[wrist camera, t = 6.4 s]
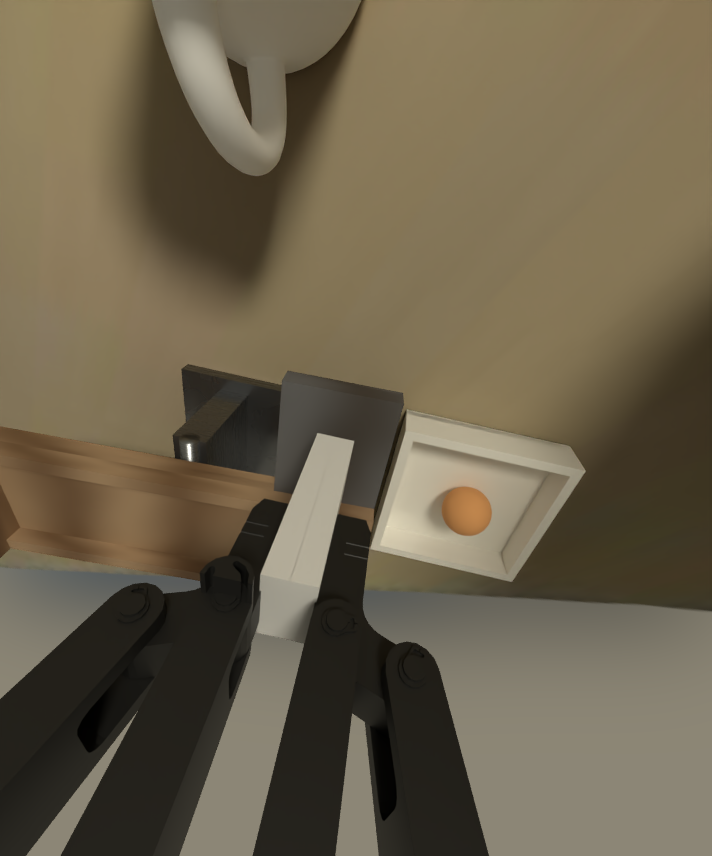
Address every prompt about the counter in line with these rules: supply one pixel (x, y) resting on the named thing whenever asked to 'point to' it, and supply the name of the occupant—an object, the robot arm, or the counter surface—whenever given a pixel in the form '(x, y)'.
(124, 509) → the plank
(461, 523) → the ball
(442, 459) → the dish
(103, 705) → the robot arm
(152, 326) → the counter surface
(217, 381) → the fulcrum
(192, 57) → the mug
